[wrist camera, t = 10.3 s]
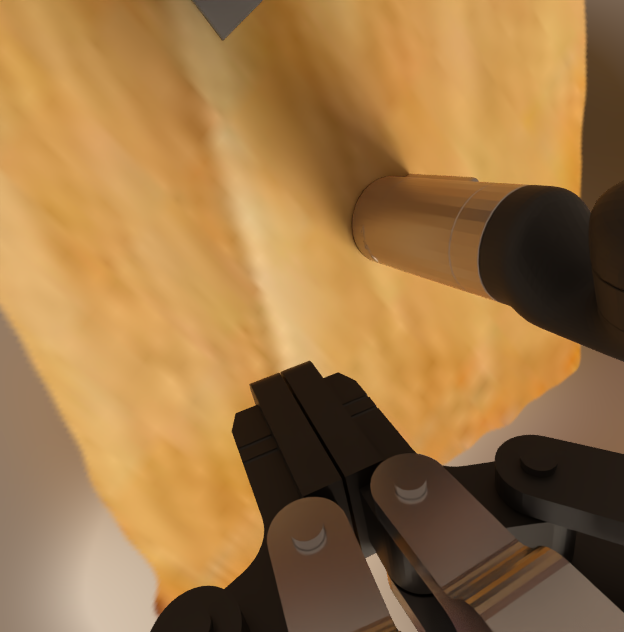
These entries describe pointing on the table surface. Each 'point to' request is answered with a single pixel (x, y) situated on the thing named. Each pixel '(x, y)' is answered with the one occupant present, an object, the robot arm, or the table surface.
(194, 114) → the table surface
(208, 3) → the mat
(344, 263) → the table surface
